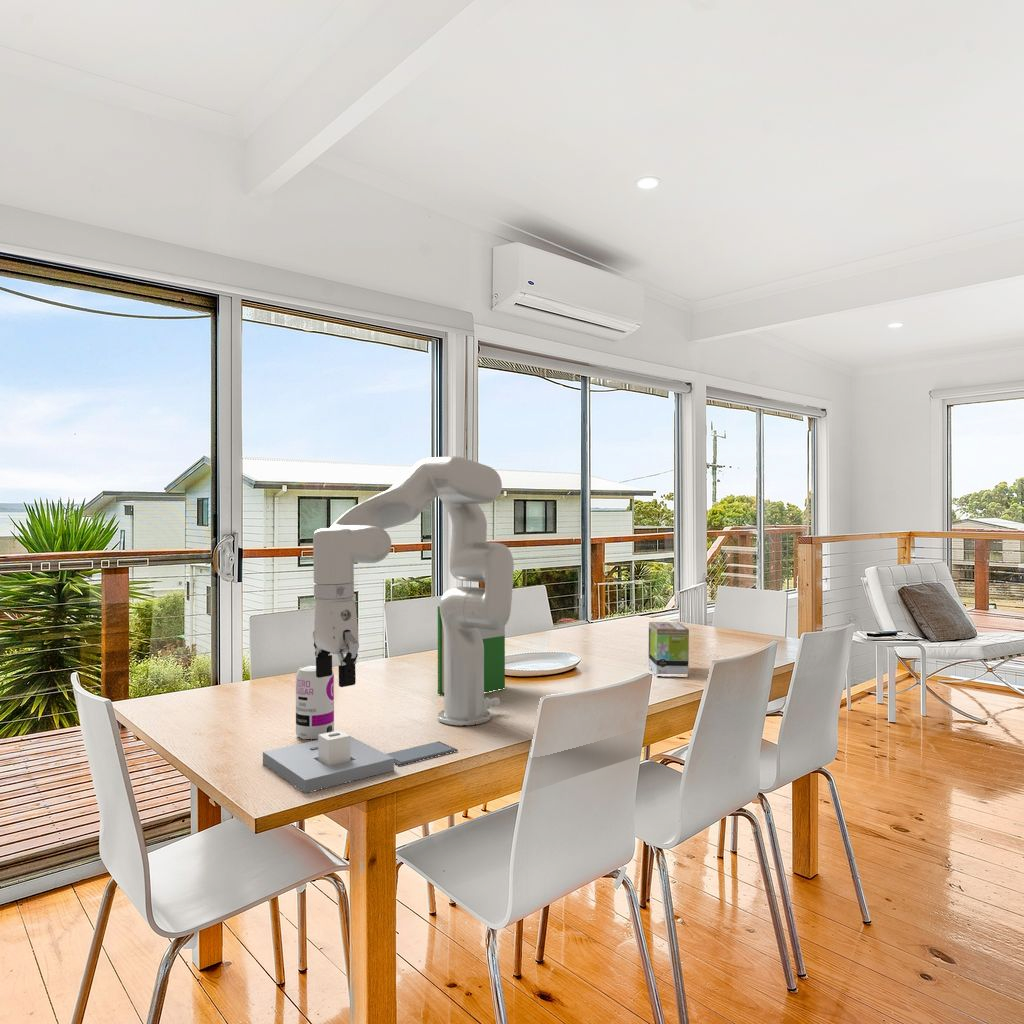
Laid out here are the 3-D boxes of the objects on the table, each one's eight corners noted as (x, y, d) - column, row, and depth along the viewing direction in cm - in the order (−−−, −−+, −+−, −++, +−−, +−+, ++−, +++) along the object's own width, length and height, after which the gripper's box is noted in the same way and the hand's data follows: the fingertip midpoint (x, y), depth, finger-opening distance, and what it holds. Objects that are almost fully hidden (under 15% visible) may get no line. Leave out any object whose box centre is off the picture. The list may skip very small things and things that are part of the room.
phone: (439, 745, 159) (439, 740, 159) (457, 754, 153) (457, 749, 153) (381, 760, 150) (381, 754, 150) (398, 769, 145) (398, 763, 145)
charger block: (340, 765, 145) (339, 729, 145) (350, 772, 142) (350, 734, 141) (318, 770, 142) (318, 733, 142) (328, 777, 139) (328, 739, 139)
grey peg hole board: (346, 745, 158) (346, 733, 158) (394, 770, 142) (394, 757, 142) (262, 763, 146) (262, 750, 146) (305, 793, 131) (305, 779, 131)
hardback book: (454, 700, 195) (454, 609, 195) (437, 694, 200) (437, 606, 200) (504, 689, 207) (504, 603, 206) (488, 684, 212) (487, 601, 212)
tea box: (689, 678, 220) (689, 628, 220) (655, 678, 220) (655, 628, 220) (679, 667, 235) (679, 620, 235) (647, 667, 235) (647, 620, 235)
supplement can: (337, 729, 169) (337, 663, 169) (329, 740, 161) (329, 671, 161) (301, 729, 169) (301, 664, 169) (291, 741, 160) (291, 672, 160)
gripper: (373, 594, 137) (374, 686, 138) (332, 586, 151) (333, 670, 151) (336, 598, 133) (337, 693, 133) (296, 589, 146) (298, 676, 146)
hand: (335, 680), depth 142 cm, fingers open, 9 cm apart
